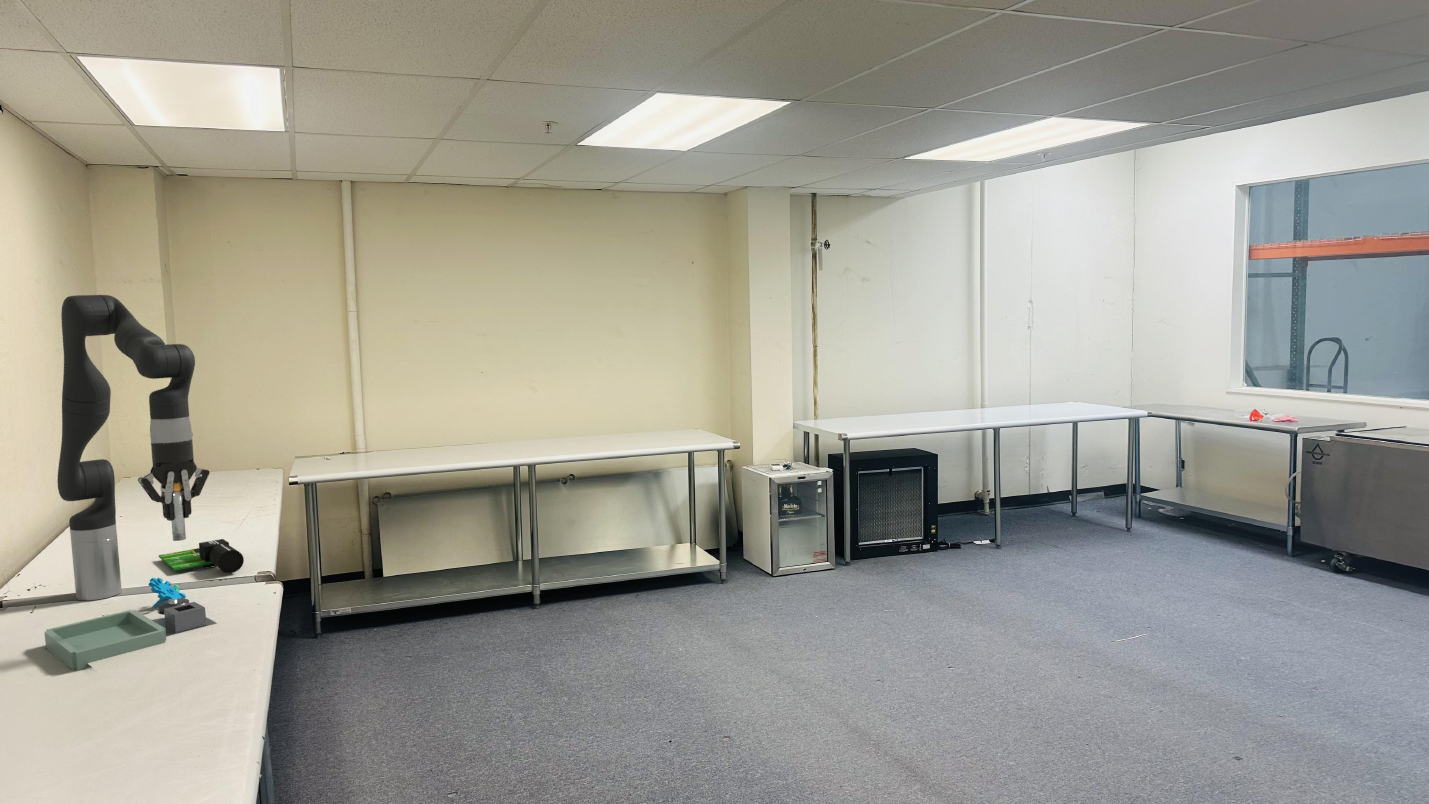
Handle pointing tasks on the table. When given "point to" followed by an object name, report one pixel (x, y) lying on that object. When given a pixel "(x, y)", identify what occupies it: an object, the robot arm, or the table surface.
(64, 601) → the table surface
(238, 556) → the electronic board model
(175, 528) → the capped test tube
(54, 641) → the tray
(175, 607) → the grey slotted holder
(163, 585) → the blue jagged piece
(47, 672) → the table surface
